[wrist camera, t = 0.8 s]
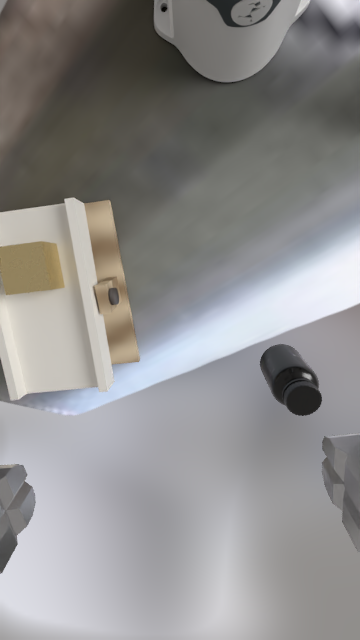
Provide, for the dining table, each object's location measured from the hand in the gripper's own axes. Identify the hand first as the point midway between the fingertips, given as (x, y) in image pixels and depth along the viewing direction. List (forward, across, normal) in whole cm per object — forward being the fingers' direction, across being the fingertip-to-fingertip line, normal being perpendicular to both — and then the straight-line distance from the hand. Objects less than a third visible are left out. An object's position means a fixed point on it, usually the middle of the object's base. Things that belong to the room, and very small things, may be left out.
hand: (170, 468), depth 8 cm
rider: (+33, +20, -3) cm, 39 cm away
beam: (+33, +20, +2) cm, 39 cm away
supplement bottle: (+40, -14, +18) cm, 46 cm away
